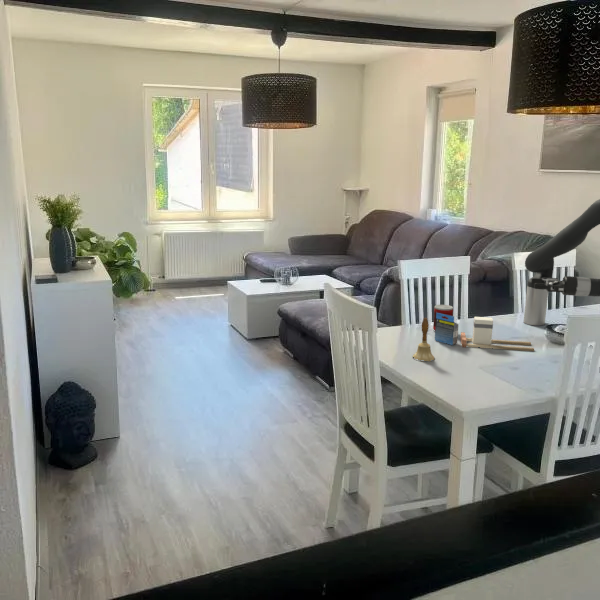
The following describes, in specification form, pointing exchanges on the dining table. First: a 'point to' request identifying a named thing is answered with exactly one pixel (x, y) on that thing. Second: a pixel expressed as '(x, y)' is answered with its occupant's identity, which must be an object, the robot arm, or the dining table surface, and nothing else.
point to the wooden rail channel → (464, 344)
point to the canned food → (442, 312)
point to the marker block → (482, 330)
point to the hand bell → (424, 345)
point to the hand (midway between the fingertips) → (532, 283)
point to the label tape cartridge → (446, 329)
